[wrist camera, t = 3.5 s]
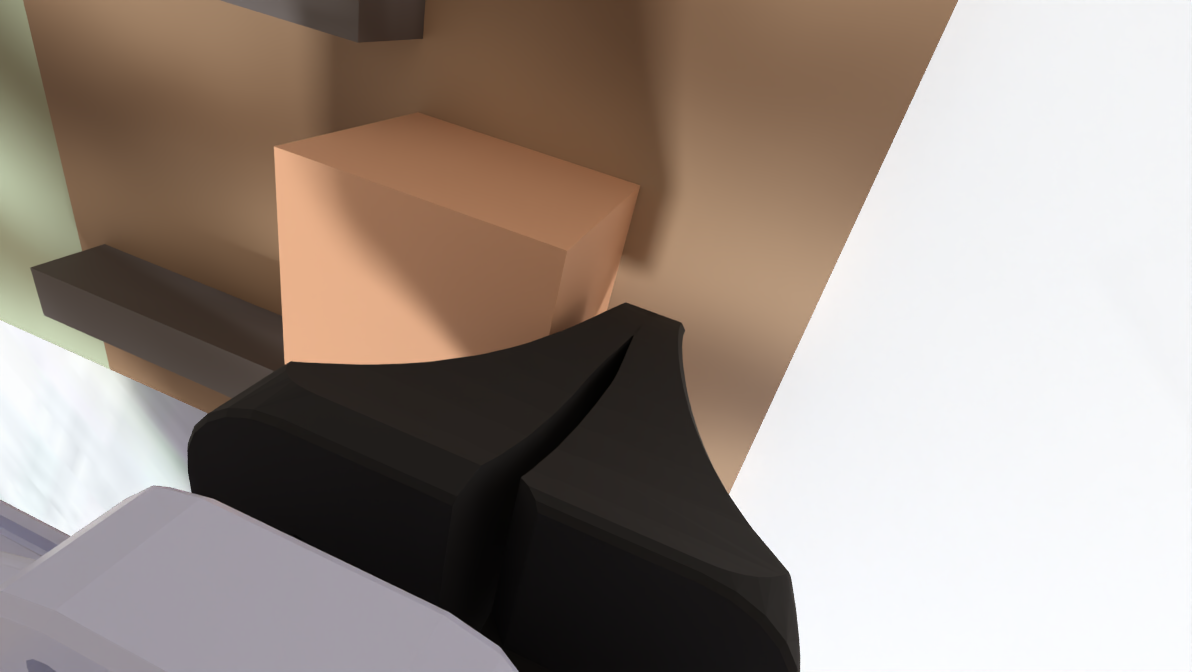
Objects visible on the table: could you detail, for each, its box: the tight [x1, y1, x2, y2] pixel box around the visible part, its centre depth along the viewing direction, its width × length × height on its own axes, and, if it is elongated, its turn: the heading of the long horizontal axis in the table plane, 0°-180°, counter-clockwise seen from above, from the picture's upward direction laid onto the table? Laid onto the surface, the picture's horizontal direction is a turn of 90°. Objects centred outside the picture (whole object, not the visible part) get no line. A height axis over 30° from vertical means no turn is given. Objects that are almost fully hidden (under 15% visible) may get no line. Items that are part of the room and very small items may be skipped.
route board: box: [0, 0, 958, 494], centre depth 15 cm, size 18×26×3 cm
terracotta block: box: [274, 112, 640, 364], centre depth 12 cm, size 5×5×4 cm
